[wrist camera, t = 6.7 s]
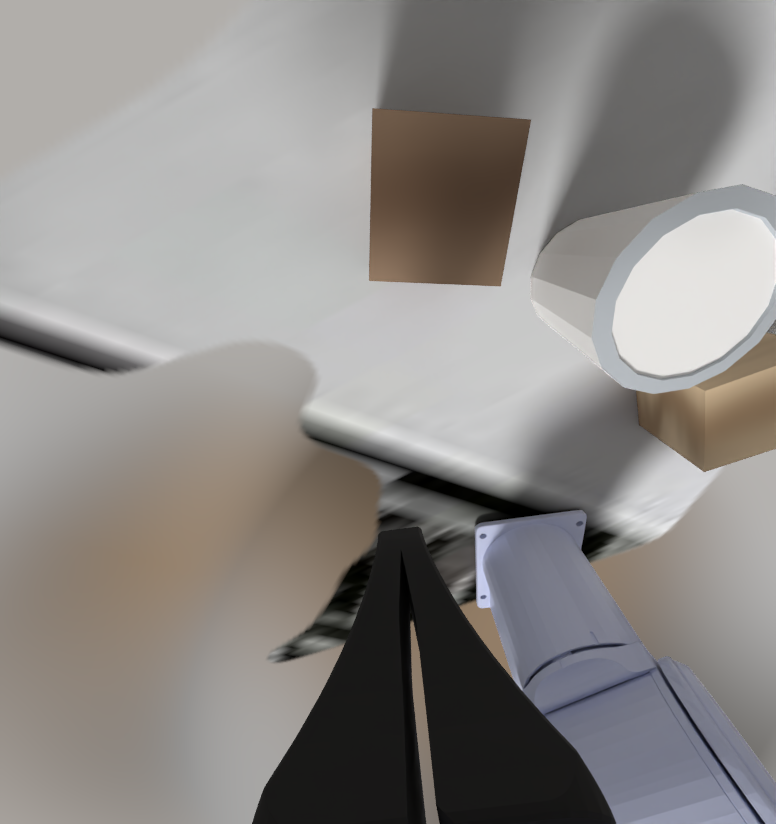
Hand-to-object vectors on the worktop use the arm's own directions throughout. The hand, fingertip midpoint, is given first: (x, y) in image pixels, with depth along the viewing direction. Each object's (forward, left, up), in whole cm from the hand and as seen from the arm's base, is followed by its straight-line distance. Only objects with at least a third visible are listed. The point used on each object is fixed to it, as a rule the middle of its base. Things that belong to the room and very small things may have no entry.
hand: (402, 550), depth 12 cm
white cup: (+6, -11, -11) cm, 16 cm away
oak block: (0, -18, -10) cm, 20 cm away
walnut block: (+10, -3, -10) cm, 15 cm away
